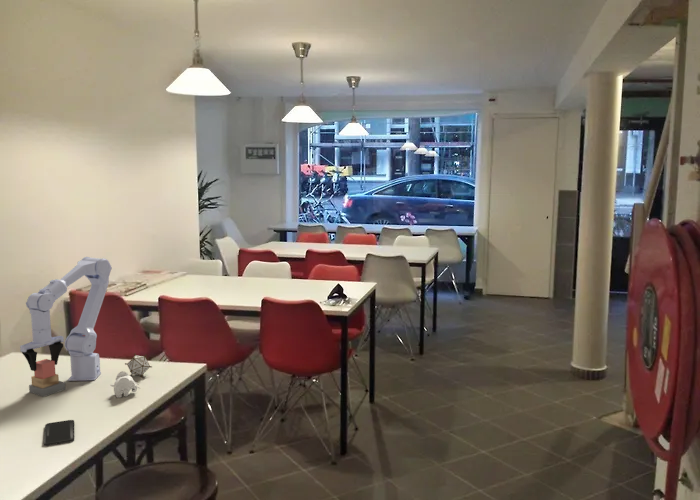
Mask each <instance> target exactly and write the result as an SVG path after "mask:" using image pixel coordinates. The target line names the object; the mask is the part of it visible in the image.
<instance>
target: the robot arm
mask: <svg viewBox="0 0 700 500" xmlns="http://www.w3.org/2000/svg"><path fill="white" fill-rule="evenodd" d="M111 272H112V265H111V263H110V261H109V259H107V258H104V257H103V258H101V257H100V258H99V257H90V256H84V257H83V258H81V260H79V261H77V264H76V265H75V266H74V267H73V268H72V269H70V270H69V271H68V272H67V273H66V274H65V275H64V276H62V277H61V278H60V279H58V278H57V279H56V278H55V279H51V280H50V281H49V283H48V284H47V285H46V286H44V287H42V288H40V289H39V291H38V292H33V293H31V294H30V295H29V296H28V298H27V300H26V301H25V306H26V308H28V310H29V314H30V319H31V322H30V323H31V332H32V341H30V342H28V343H24V344H22V345H19V348H20V349H19V350H20V352H21V354H22V355H23V356H24V358H25V360H26V361H27V363H28V365H29V369H30V370H31V372H34V371H36V362H37V356H38V351H35V350H36V349H41V348H42V347H43V348H44V347H46V346H48V348H49V353H50V360H53V361H55V366H57V365H58V361H59V356H60V354H61V352H62V349H63V347H65V350H66V351H68V354H69V358H70V371H71V372H70V373H71V374H70V375H71V376H70V377H68V379H67V382H74V381H75V382H76V381H77V382H78V381H79V382H80V381H95V380H96V379H97V378H98V377H100V375H101V373H102V372H101V361H100V360H101V359H100V354H99V353H96V352H94V351H95V350H96V346H97V337H98V335H97V333H96V331H95V330H94V329H95V326H96V323H97V319H98V316H99V314H100V311H101V307H102V305H103V302H104V299H105V296H106V292H107V291H108V286H109V284H110V283H109V281H110V280H109V279H110V274H111ZM84 276H85V278H86V279H87V280H88V281H89V282H90V284H91V285H90V289H89V291H88V294H87V297H86V301H85V303H84V306H83V309H82V312H81V315H80V317H79V320H78V324H77V325H76V326H74V328H72V329H71V330H70V333H69V334H68V335H67V337H66V339H65V337H64V336H63V335H57V336H52V327H51V324H52V323H51V309H52V308H53V305H54V303H55V302H56V301H57V300H58V299H60V298H61V297H62V296H63V295H65V294H66V293H67V291H68V287H70V286H71V285H72V284H74V283H76V282H77V281H78V280H79V279H81V278H83V277H84Z"/></svg>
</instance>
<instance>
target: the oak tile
mask: <svg viewBox="0 0 700 500" xmlns="http://www.w3.org/2000/svg"><path fill="white" fill-rule="evenodd" d="M55 374H56V375H54V376H51V377H48V378H45V379H41V378H37V377H35V375H32V376H31V384H32V385H33V386H36V387H40V388H45V387H48V386H51V385H55V384H58V383H59V381H60V379H59V373H55Z"/></svg>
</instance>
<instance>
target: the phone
mask: <svg viewBox="0 0 700 500" xmlns="http://www.w3.org/2000/svg"><path fill="white" fill-rule="evenodd" d="M73 442H75V420H74V419H68V420H61V421H56V422H48V423H46V424H45V425H44V435H43V446H44V447H51V446H57V445H61V444H63V445H64V444H69V443H73Z"/></svg>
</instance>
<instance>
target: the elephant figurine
mask: <svg viewBox="0 0 700 500" xmlns="http://www.w3.org/2000/svg"><path fill="white" fill-rule="evenodd" d="M109 386H110V387H113V393H114V395H115V397H116V398H122V396H123V397H125V398H126V397H129V393H130V391H131V392H132V393H136V392H137V390H138V389H140V387H139V386H140V384H139V383H137V382H136V381H135V380H134V378H133V377H132V376H131V375H129V374H128V372H126V371H123V370H121V371H120V372H118V374H117V375H116V377H115V381H114V384H109Z"/></svg>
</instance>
